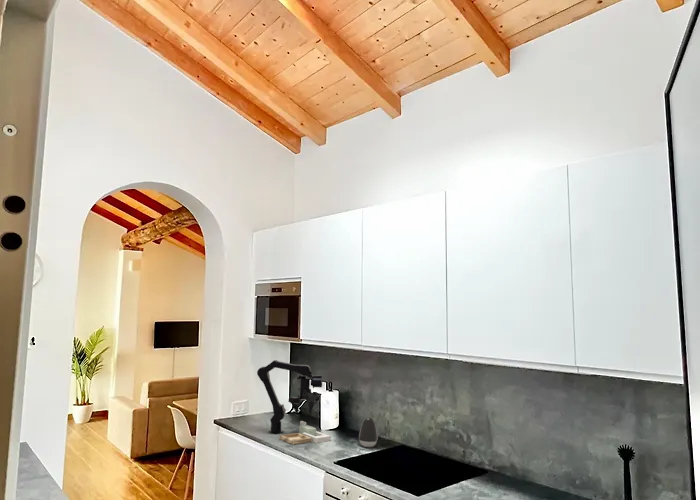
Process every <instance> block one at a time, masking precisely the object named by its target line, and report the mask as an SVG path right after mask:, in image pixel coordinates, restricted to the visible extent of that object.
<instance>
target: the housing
mask: <svg viewBox="0 0 700 500" xmlns="http://www.w3.org/2000/svg"><path fill="white" fill-rule="evenodd" d="M302 435H304V436H307V437H310V438H312V442H311V443H316V444H318V443H325V442H331V441H332V440H331V439H332V436H331V435H328V434H326V433H323V432H320V431H317V430H316V436H313V435H310V434H308V433H302Z"/></svg>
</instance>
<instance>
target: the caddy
mask: <svg viewBox="0 0 700 500" xmlns="http://www.w3.org/2000/svg"><path fill="white" fill-rule="evenodd" d="M316 431H317V428H316V427H313V426H312V425H311V426H310V425H308V424H307V422H306V421H303V420H300V421H299V427H298V433H299V434H302V433H308V434H310V435H313V436H316Z"/></svg>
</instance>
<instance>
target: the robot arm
mask: <svg viewBox="0 0 700 500" xmlns="http://www.w3.org/2000/svg"><path fill="white" fill-rule="evenodd" d="M274 369H281V370H286V371H290V372H295V373H297V374H299V376H297V377H296V379H297V380H299V387H298V391H299V394H298V395H297V396H289V398H288V403H290V404H291V405H292V407H293V410H294V412H295V415H296V416H299V406H300V402H303V401H307V404H308V413H309V414H311V413H312V411H313V408H314V406H315V404H316V403H318V402H319V401H320V396H319V394H318V391H315V392H314V391H313V392H312V389H311V387H312V388H323V375H314V373H312V372H313V371H312V370H311V367H310V365H308V364H293V363H289V362H286V361H285V362H284V361H279V360H276V359H275V360H273V361H272V362H270V363H269V364H267V365H266V366H261V367H259V368H258V370H257V372H256V373H257V376H258V378H259V380H260V381H261V382H262V383H263V386H264V388H265V390H266V393H267V395H268V398H269V400H270V403H271V405H272V411H273V415H272V416H271V418H270V420H269V421H270V429H269V430H268V433H270V434H273V435H276V434H283V432H284V431H282V420H283V419H284V417H285V415H286V411H287V409H286V408H285V405H284V403H283V404H281V403H280V402H279V399H278V396H277V394H276V391H275V389H274V386H273V383H272V381H271V377H270V372H271V371H273V370H274Z"/></svg>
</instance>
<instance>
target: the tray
mask: <svg viewBox="0 0 700 500" xmlns="http://www.w3.org/2000/svg"><path fill="white" fill-rule="evenodd" d="M278 438H279V440H280V441H282V440H283V441H282V442H285V443H287V444H290V445H293V446H295V445H302V444H307V443H308V444H309V443H313V442H312V438H310V437H307V436H304V435H302V434H299V432H294V433H287V434H282V435H279V437H278Z"/></svg>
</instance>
